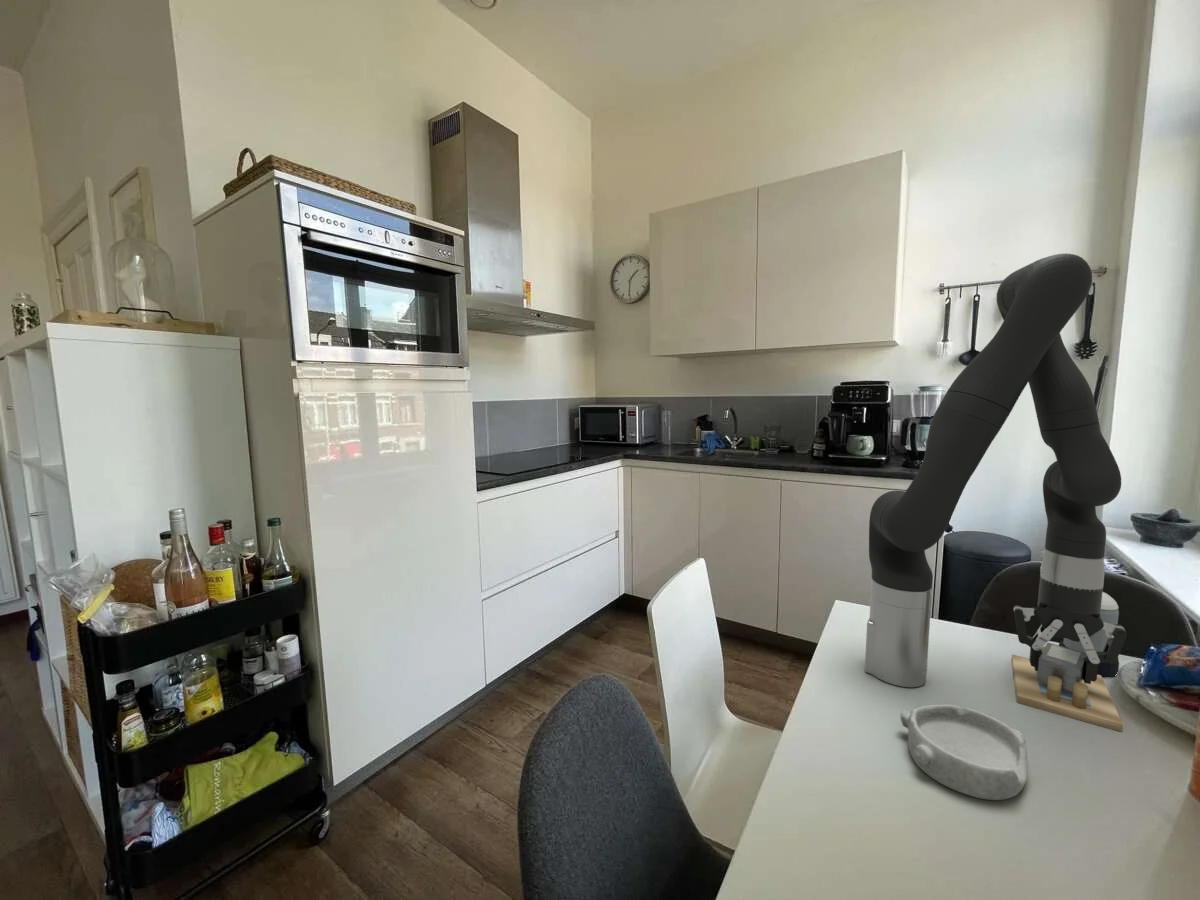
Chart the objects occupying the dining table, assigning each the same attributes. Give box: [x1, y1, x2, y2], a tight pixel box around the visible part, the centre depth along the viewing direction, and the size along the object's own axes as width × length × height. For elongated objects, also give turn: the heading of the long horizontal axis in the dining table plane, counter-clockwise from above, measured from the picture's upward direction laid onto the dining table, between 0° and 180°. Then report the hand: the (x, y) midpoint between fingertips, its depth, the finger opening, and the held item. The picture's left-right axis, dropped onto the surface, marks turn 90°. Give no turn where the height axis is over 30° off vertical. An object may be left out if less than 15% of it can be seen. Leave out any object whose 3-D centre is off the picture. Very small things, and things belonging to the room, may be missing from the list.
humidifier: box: [1057, 591, 1120, 678], centre depth 90 cm, size 8×8×25 cm
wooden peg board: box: [1010, 646, 1124, 733], centre depth 83 cm, size 16×12×5 cm
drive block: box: [1037, 642, 1087, 692], centre depth 83 cm, size 5×8×4 cm, turn 130°
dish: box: [900, 703, 1029, 801], centre depth 67 cm, size 14×14×5 cm
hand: (1061, 674), depth 83 cm, fingers closed on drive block, 5 cm apart
